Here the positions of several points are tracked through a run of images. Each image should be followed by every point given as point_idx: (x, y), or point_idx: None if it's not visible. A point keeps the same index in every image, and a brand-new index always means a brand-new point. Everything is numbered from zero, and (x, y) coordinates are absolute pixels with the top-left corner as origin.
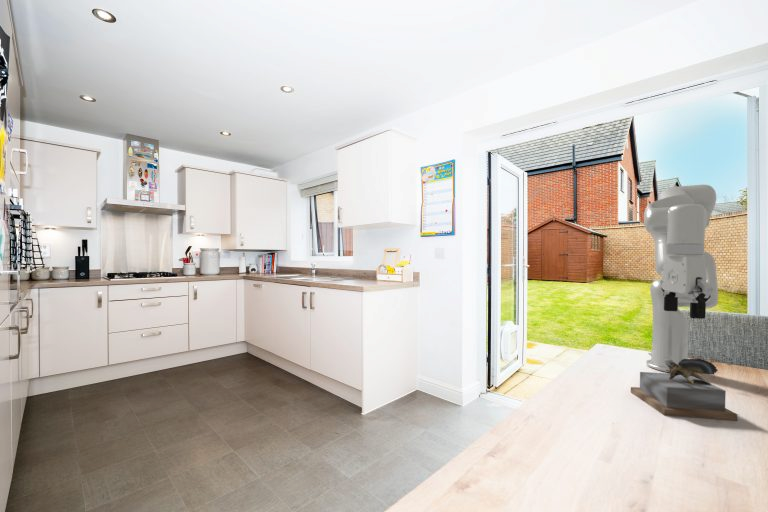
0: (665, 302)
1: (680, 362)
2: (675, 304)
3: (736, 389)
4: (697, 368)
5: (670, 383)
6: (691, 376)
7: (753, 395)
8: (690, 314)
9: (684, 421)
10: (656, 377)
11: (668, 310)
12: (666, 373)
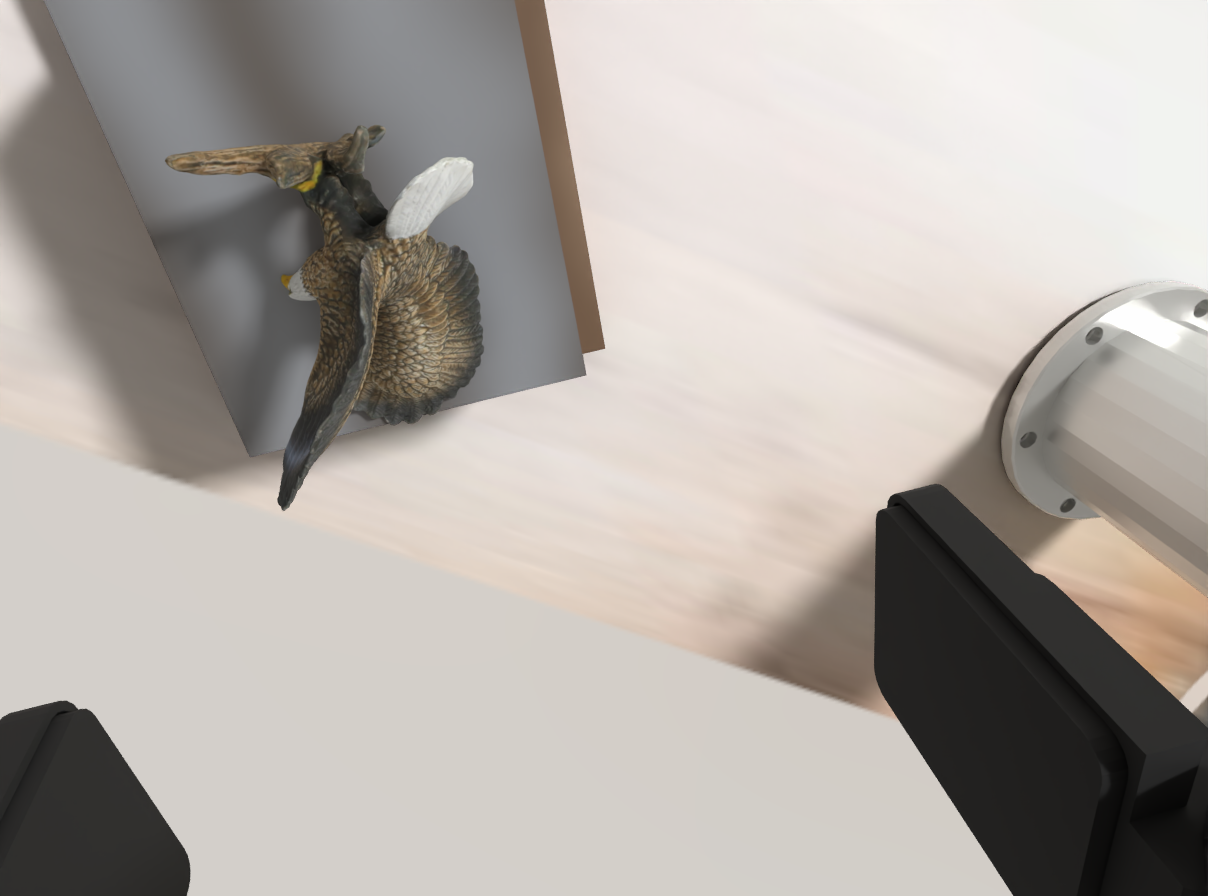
0: (1012, 625)
1: (362, 272)
2: (950, 765)
3: (796, 601)
4: (330, 381)
5: (209, 87)
6: (536, 360)
7: (723, 636)
8: (3, 760)
9: (3, 64)
10: (355, 20)
11: (878, 549)
12: (546, 184)
